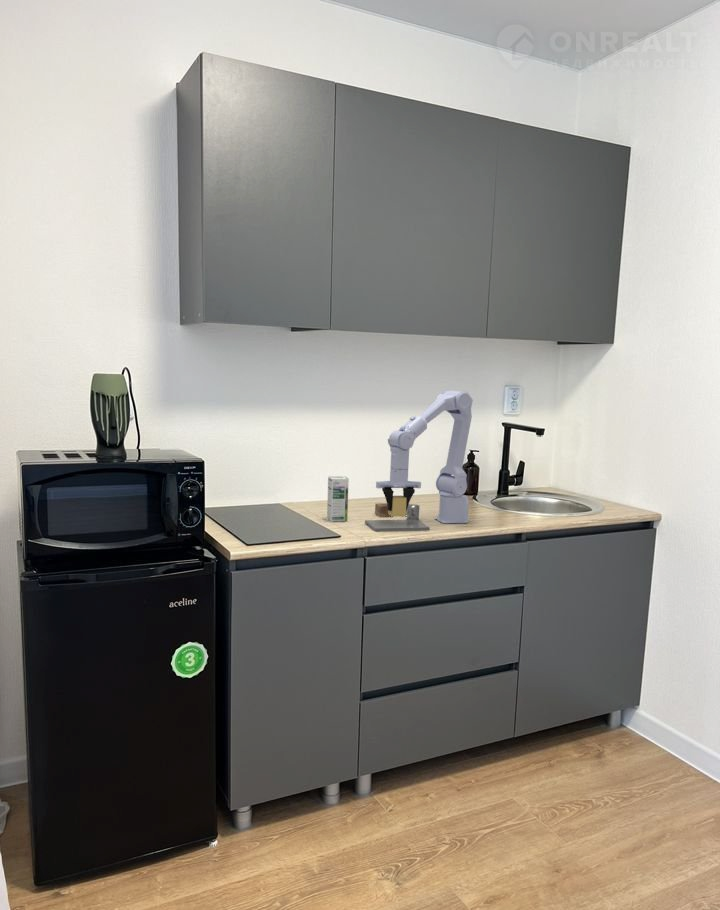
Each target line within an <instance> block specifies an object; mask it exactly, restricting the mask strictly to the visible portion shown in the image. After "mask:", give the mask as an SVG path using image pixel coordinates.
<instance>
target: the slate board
mask: <svg viewBox="0 0 720 910" xmlns="http://www.w3.org/2000/svg"><path fill="white" fill-rule="evenodd" d="M364 524H365V525H366V526H368V527H369V528H370V529H371V530H372V531H374V532H375V533H376V532H377V533H378V532H379V533H380V532H417V531H421V530H429V531H430V530H431V529H430V526H428V525H426V524H425V523H423V522H422V521H420V519H419V520H417V519H411V520H407V519H369V520H364Z"/></svg>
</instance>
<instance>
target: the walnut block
mask: <svg viewBox="0 0 720 910" xmlns="http://www.w3.org/2000/svg"><path fill="white" fill-rule="evenodd" d="M374 505H375V506H374V507H375V508H374V515H375V514H376V515H375V516H376V517H378V516H379V517H378V518H390V517H389V516H391V515H389V514H388V506H387V502H386V503H381V502H380V503H379V502H378V503H375V504H374Z"/></svg>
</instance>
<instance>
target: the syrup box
mask: <svg viewBox="0 0 720 910" xmlns="http://www.w3.org/2000/svg"><path fill="white" fill-rule="evenodd" d="M349 482H350V481H349V478H348V477H347V476H345V475H340V476H339V475H335V476H333V475H332V476H331V475H329V476H327V506H326V509H327V512H326V514H327V515H326V518H327V519H328V520H329V522H348V509H349V508H348V507H349V484H350V483H349Z"/></svg>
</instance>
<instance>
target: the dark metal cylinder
mask: <svg viewBox="0 0 720 910" xmlns="http://www.w3.org/2000/svg"><path fill="white" fill-rule="evenodd" d="M407 519H408V520H411V519H417V520H419V521H420V505H419V504H414V503H413V504H412V503H411V504H410V503H409V505H408V511H407V517H406V520H407Z"/></svg>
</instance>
